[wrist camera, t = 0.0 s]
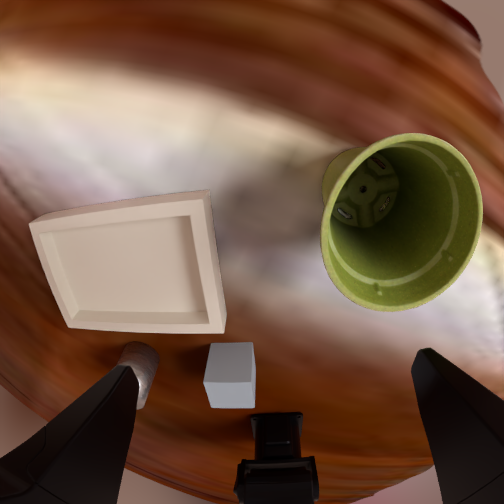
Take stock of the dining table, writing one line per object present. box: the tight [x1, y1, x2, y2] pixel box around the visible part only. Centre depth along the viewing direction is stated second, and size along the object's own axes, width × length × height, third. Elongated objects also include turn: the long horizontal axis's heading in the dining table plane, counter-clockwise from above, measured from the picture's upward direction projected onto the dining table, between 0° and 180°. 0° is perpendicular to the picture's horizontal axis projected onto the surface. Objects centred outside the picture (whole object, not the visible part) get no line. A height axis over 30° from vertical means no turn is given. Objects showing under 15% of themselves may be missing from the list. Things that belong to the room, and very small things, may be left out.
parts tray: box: [29, 190, 227, 333], centre depth 22 cm, size 11×16×2 cm
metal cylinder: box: [116, 341, 160, 409], centre depth 25 cm, size 4×4×6 cm
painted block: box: [203, 342, 256, 408], centre depth 25 cm, size 4×4×5 cm
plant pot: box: [320, 133, 483, 312], centre depth 16 cm, size 9×9×9 cm
